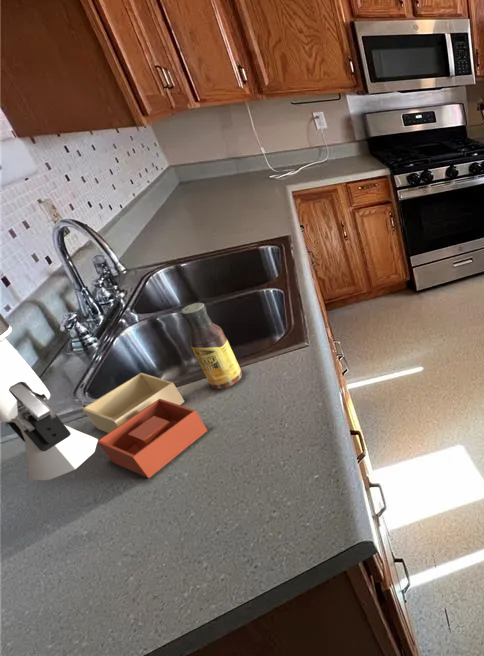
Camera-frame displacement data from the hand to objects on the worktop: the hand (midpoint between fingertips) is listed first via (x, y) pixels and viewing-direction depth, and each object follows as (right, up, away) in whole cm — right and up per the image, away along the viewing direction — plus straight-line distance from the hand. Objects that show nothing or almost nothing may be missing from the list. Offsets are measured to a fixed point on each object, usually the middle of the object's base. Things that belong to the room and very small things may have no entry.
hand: (48, 437), depth 59 cm
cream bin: (-11, -6, +28) cm, 31 cm away
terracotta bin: (-1, -9, +20) cm, 22 cm away
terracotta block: (-1, -9, +20) cm, 22 cm away
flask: (0, -4, +2) cm, 5 cm away
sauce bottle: (+2, -1, +35) cm, 35 cm away
